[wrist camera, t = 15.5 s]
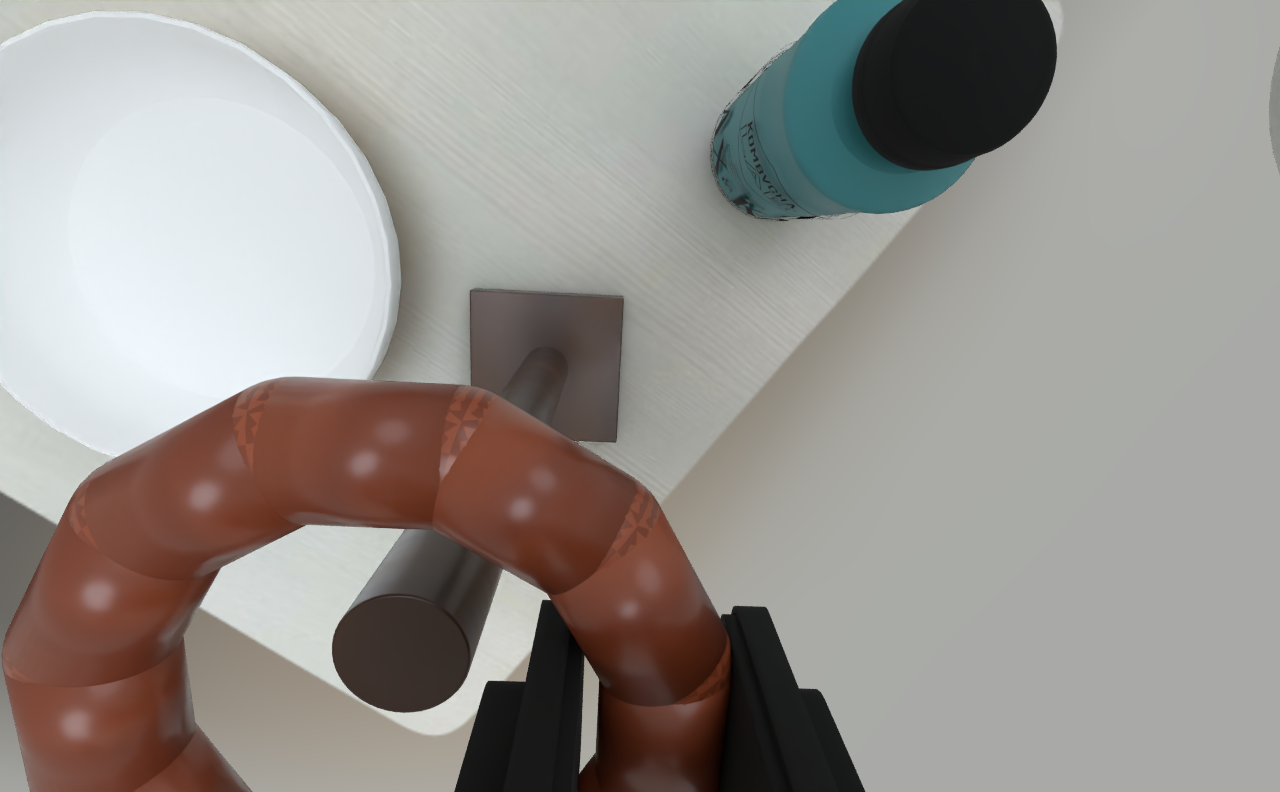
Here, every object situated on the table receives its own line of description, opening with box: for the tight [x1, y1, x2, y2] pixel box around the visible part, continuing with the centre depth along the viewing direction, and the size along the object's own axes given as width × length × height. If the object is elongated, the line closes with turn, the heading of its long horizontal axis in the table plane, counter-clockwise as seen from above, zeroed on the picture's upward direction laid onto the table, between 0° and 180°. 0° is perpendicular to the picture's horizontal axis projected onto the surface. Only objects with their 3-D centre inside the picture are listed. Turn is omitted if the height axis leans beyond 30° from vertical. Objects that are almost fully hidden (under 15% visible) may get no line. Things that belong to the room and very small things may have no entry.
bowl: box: [0, 11, 402, 458], centre depth 31 cm, size 20×20×6 cm
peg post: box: [332, 288, 623, 713], centre depth 23 cm, size 8×8×25 cm
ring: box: [2, 376, 732, 792], centre depth 10 cm, size 10×10×2 cm
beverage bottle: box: [710, 0, 1057, 221], centre depth 24 cm, size 6×7×20 cm
